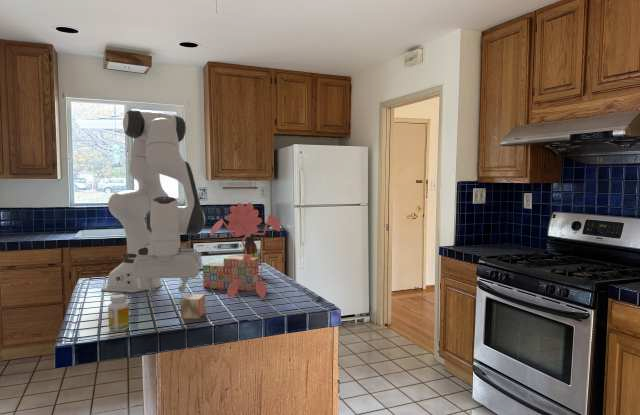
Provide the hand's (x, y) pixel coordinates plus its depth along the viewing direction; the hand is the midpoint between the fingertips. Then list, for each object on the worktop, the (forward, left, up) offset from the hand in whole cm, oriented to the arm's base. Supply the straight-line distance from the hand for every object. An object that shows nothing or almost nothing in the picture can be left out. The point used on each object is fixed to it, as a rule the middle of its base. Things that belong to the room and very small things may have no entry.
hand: (167, 291), depth 142 cm
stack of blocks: (+12, +36, -8) cm, 39 cm away
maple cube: (+5, 0, -5) cm, 7 cm away
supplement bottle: (-10, -13, -8) cm, 18 cm away
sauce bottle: (+16, +57, -8) cm, 60 cm away
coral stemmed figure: (+21, +17, -8) cm, 28 cm away
